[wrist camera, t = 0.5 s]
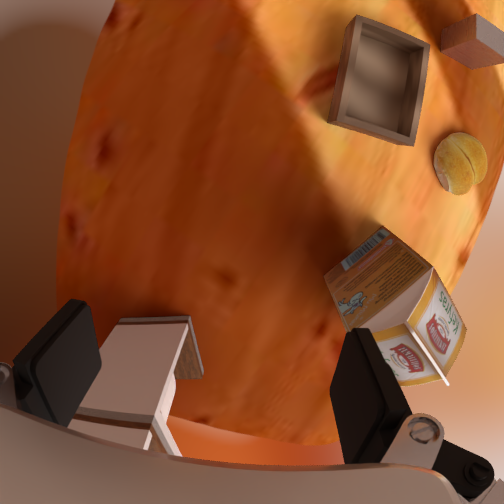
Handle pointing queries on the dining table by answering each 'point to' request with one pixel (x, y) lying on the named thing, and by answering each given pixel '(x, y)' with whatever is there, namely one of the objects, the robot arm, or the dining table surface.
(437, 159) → the bread roll
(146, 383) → the light grey boxy piece
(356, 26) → the open box
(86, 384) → the robot arm
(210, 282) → the dining table surface
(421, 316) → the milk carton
